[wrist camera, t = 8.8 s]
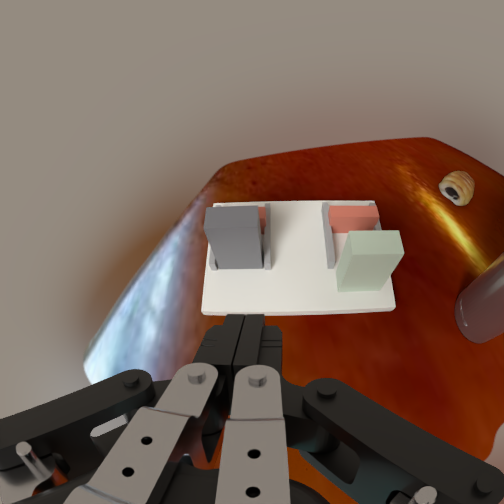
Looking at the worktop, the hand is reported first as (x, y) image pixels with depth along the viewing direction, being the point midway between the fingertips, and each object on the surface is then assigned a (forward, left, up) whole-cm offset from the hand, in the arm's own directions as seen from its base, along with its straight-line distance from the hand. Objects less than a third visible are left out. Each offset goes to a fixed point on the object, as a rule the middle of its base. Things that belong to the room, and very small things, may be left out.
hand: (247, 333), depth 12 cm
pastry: (-36, -32, -27) cm, 56 cm away
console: (-4, -19, -27) cm, 33 cm away
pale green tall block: (-12, -14, -25) cm, 31 cm away
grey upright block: (+4, -17, -25) cm, 31 cm away
